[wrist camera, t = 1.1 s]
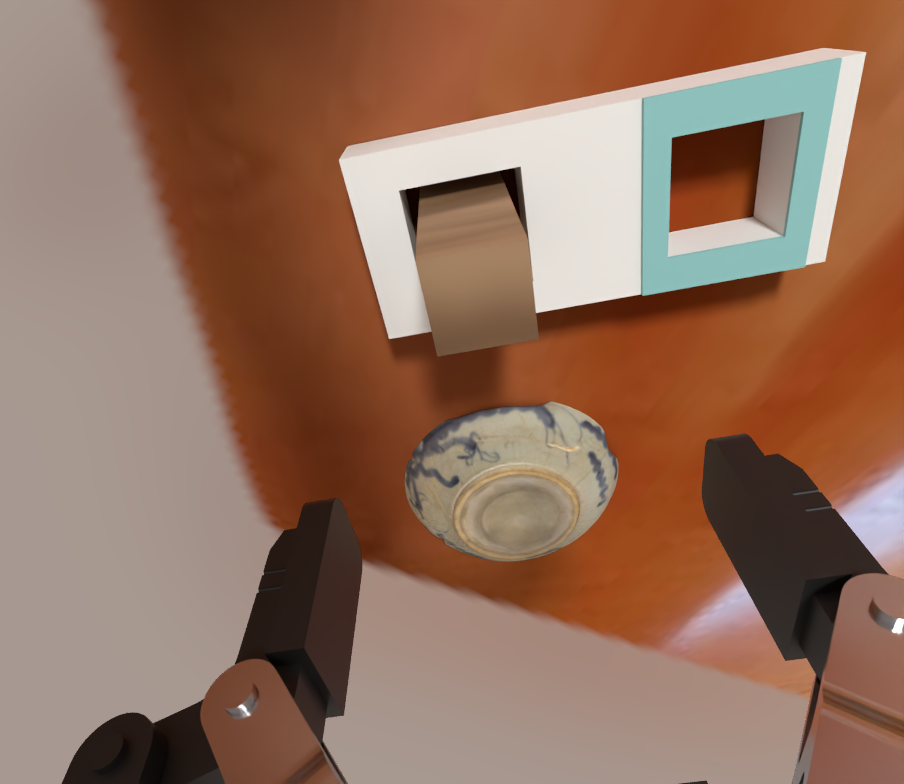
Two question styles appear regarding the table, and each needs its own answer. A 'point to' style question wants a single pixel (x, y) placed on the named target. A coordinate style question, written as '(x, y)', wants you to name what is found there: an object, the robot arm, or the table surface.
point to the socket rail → (623, 183)
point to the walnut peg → (474, 265)
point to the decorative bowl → (512, 480)
